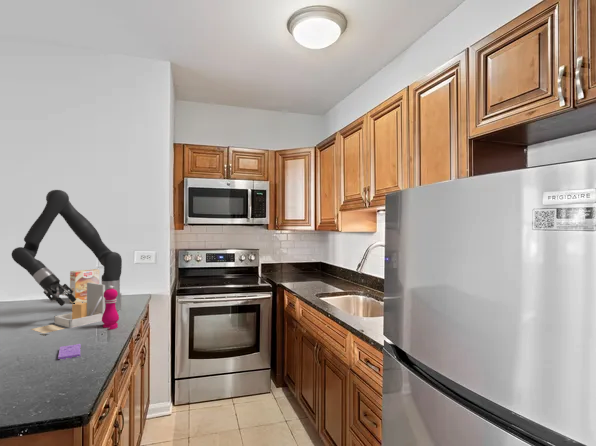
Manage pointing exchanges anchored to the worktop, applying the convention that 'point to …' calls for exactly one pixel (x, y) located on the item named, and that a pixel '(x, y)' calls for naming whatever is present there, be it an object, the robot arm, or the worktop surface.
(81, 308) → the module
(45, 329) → the board
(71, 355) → the sponges
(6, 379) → the worktop surface
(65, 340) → the worktop surface
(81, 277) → the coffeecake box
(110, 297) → the pepper mill
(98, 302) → the equipment case
